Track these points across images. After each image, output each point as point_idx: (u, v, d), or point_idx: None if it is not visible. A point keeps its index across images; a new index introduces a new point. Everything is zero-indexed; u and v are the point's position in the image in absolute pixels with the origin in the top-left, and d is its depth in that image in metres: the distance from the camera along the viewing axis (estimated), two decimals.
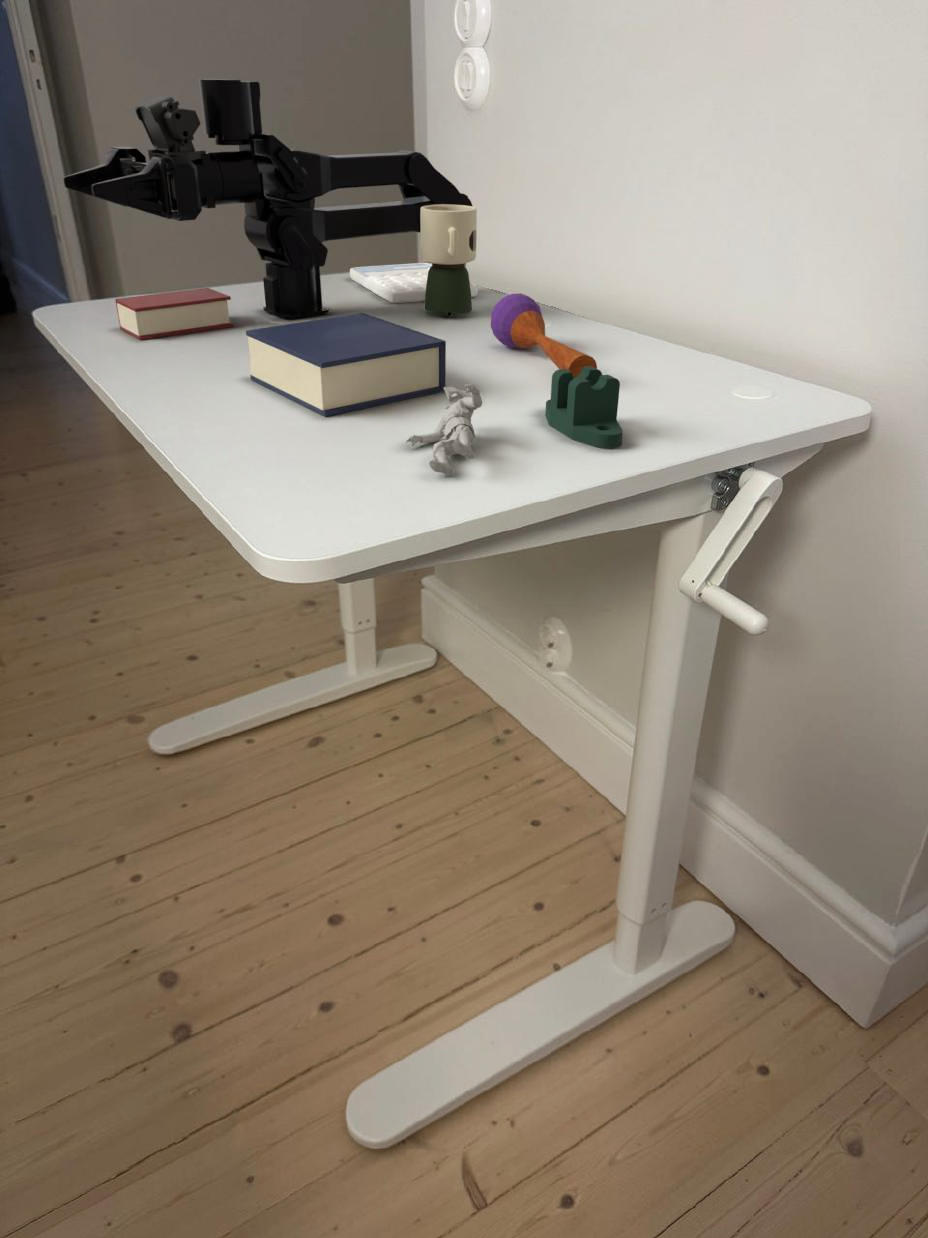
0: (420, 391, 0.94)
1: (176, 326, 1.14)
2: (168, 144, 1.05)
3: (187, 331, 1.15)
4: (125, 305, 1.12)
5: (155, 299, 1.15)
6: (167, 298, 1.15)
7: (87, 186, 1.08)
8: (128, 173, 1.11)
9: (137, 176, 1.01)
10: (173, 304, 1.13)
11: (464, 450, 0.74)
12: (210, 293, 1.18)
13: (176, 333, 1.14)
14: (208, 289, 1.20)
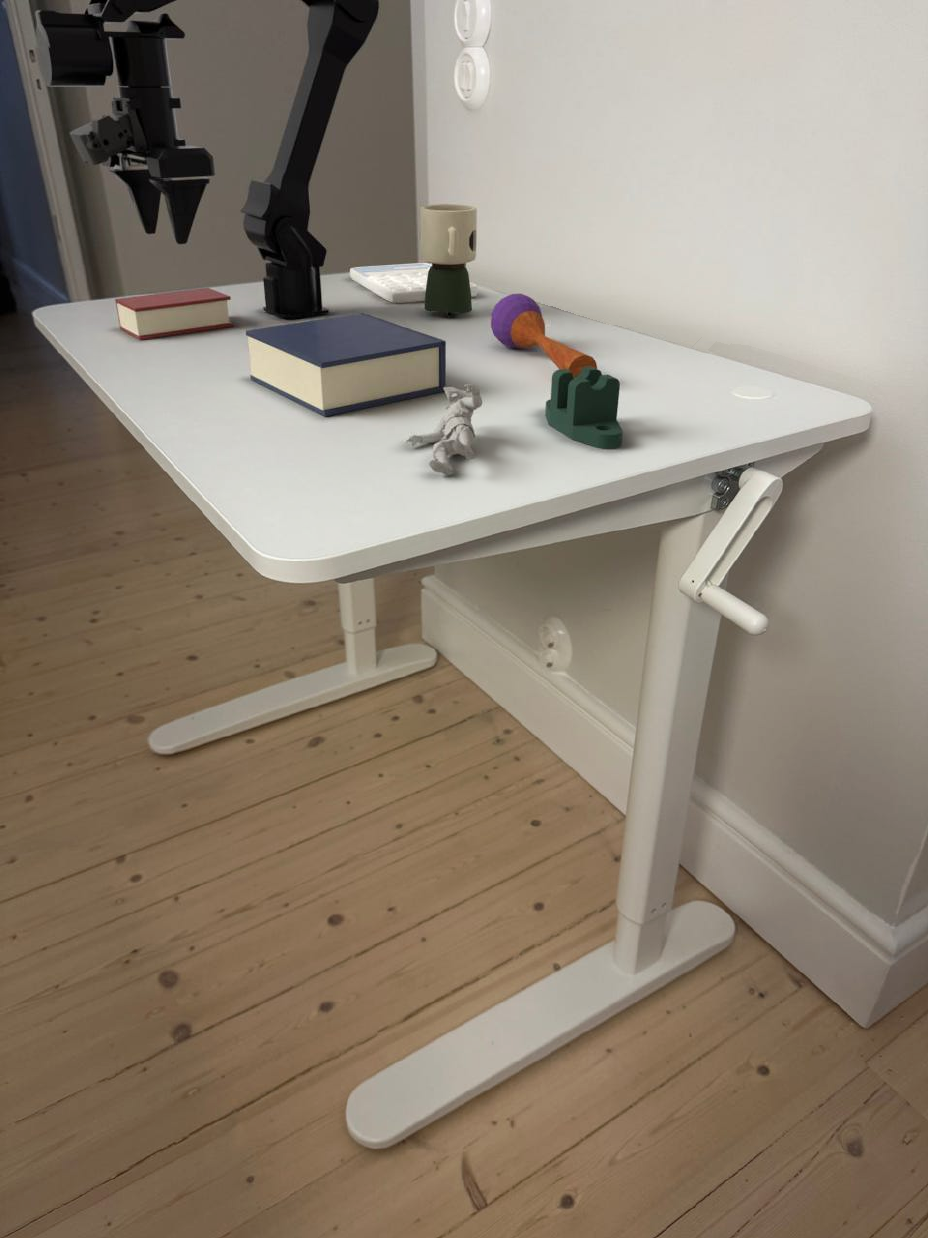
0: (420, 391, 0.94)
1: (176, 326, 1.14)
2: (127, 147, 1.04)
3: (187, 331, 1.15)
4: (125, 305, 1.12)
5: (155, 299, 1.15)
6: (167, 298, 1.15)
7: (152, 211, 1.14)
8: (134, 163, 1.12)
9: (171, 203, 1.05)
10: (173, 304, 1.13)
11: (464, 450, 0.74)
12: (210, 293, 1.18)
13: (176, 333, 1.14)
14: (208, 289, 1.20)
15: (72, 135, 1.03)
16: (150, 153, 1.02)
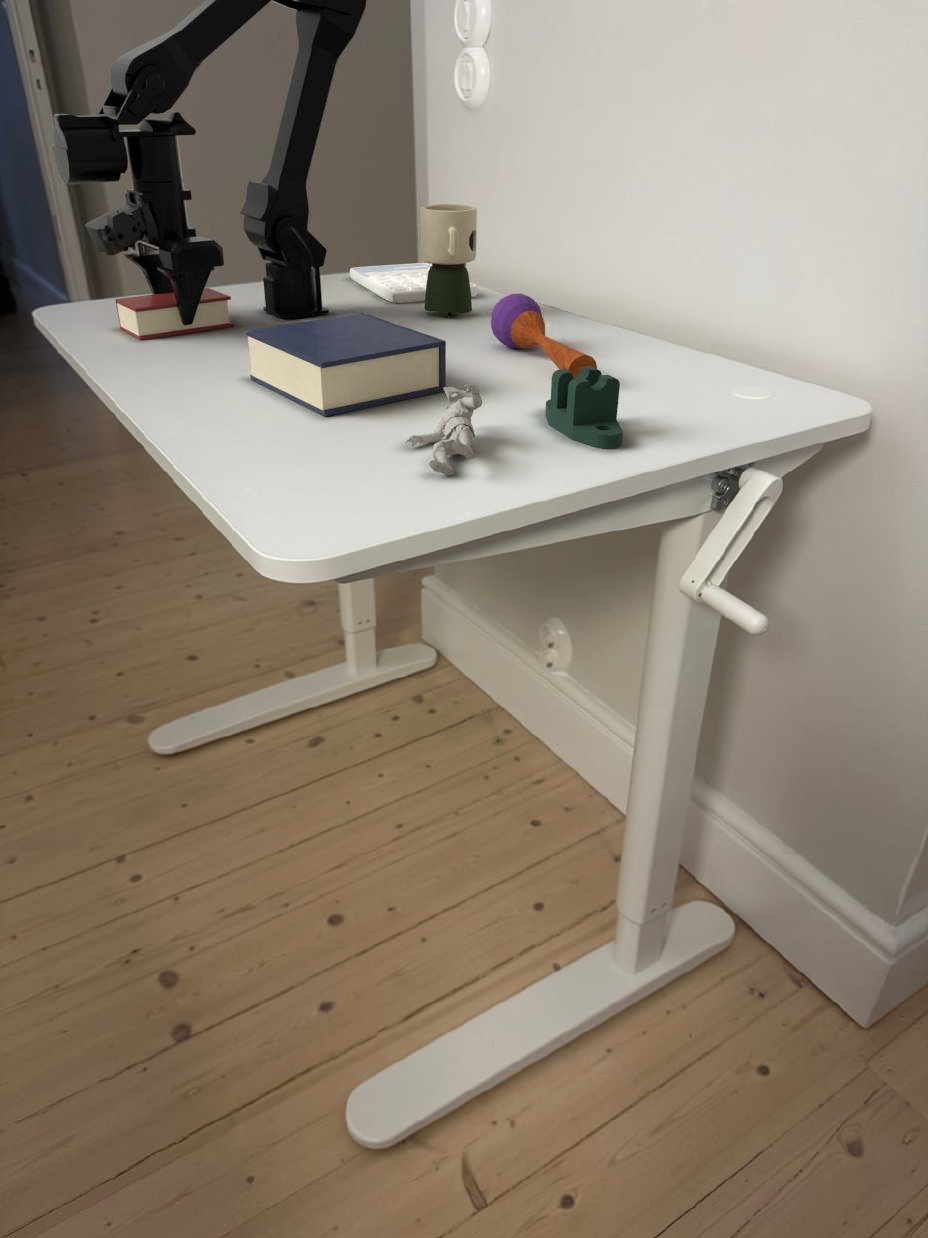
0: (420, 391, 0.94)
1: (176, 326, 1.14)
2: (140, 238, 1.08)
3: (188, 331, 1.15)
4: (125, 305, 1.12)
5: (155, 299, 1.15)
6: (167, 298, 1.15)
7: None
8: (150, 248, 1.15)
9: (178, 289, 1.11)
10: (173, 304, 1.13)
11: (464, 450, 0.74)
12: (210, 293, 1.18)
13: (176, 333, 1.14)
14: (208, 289, 1.20)
15: (88, 227, 1.07)
16: (162, 245, 1.07)
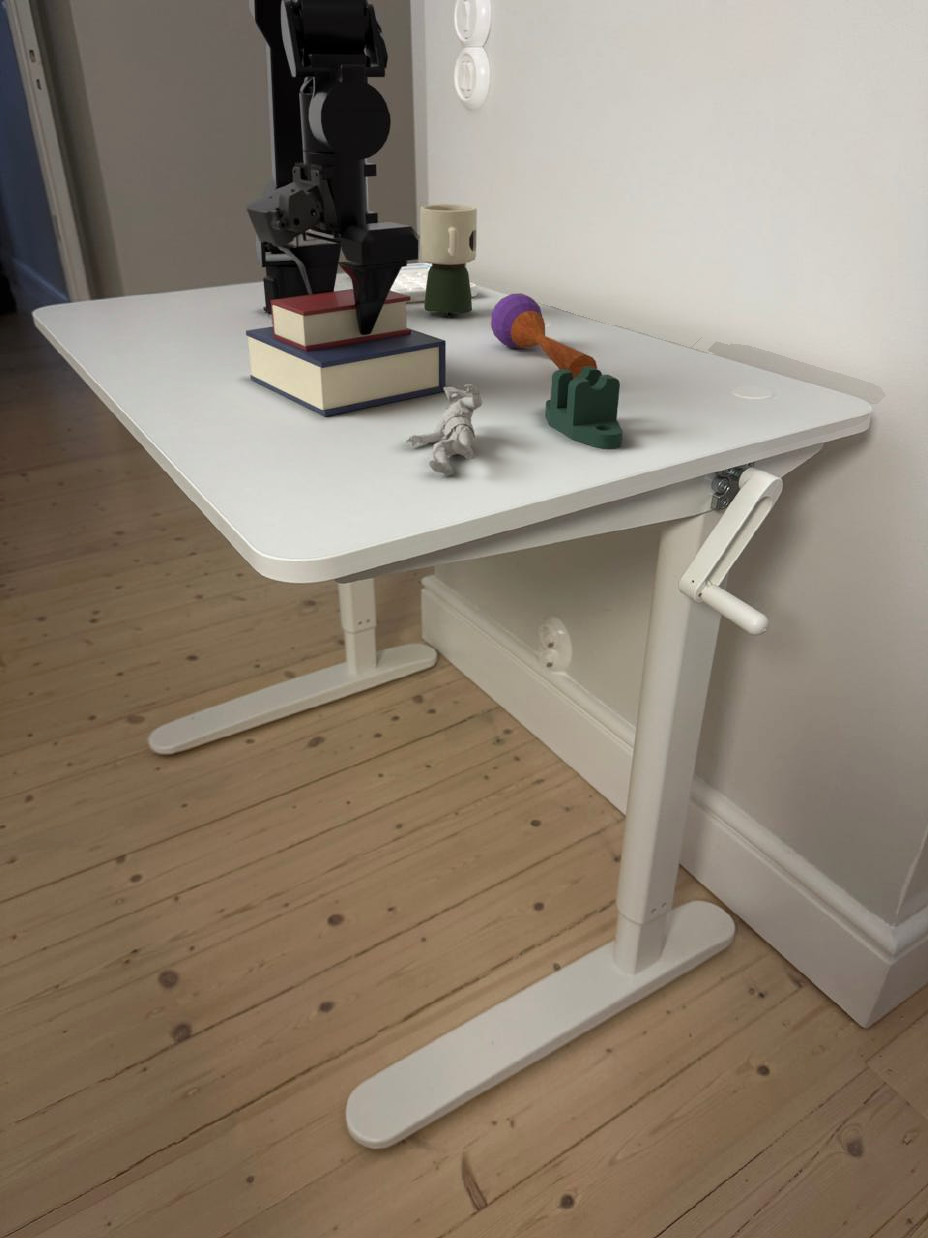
0: (420, 391, 0.94)
1: (347, 334, 0.91)
2: (314, 225, 0.86)
3: (360, 339, 0.92)
4: (287, 308, 0.90)
5: (320, 300, 0.92)
6: (334, 299, 0.92)
7: None
8: (310, 237, 0.93)
9: (361, 290, 0.88)
10: (346, 306, 0.90)
11: (464, 450, 0.74)
12: None
13: (347, 342, 0.92)
14: None
15: (250, 211, 0.85)
16: (346, 233, 0.84)
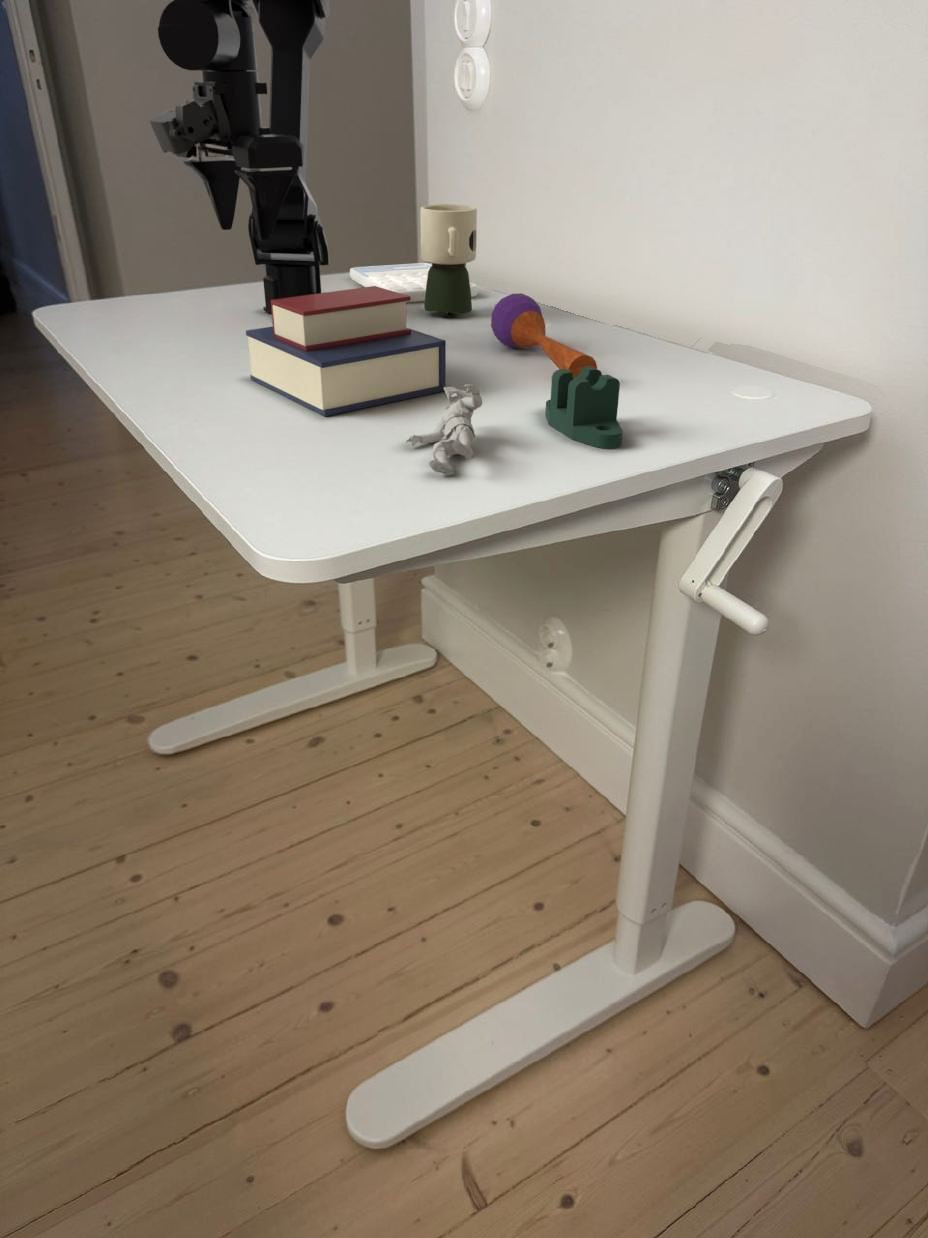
0: (420, 391, 0.94)
1: (347, 334, 0.91)
2: (210, 136, 0.96)
3: (360, 339, 0.92)
4: (287, 307, 0.90)
5: (320, 300, 0.92)
6: (334, 299, 0.92)
7: (229, 205, 1.07)
8: (211, 153, 1.04)
9: (257, 196, 0.98)
10: (346, 306, 0.90)
11: (464, 450, 0.74)
12: (383, 292, 0.95)
13: (347, 342, 0.92)
14: (376, 287, 0.97)
15: (152, 122, 0.95)
16: (237, 142, 0.94)
